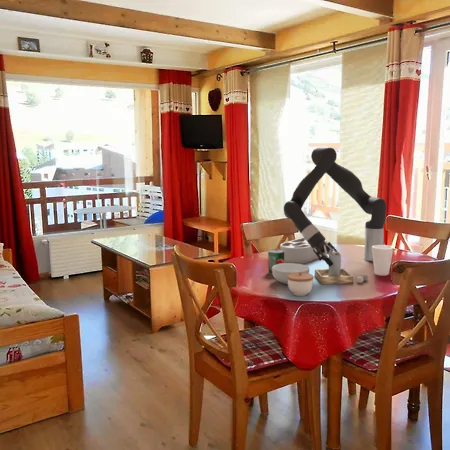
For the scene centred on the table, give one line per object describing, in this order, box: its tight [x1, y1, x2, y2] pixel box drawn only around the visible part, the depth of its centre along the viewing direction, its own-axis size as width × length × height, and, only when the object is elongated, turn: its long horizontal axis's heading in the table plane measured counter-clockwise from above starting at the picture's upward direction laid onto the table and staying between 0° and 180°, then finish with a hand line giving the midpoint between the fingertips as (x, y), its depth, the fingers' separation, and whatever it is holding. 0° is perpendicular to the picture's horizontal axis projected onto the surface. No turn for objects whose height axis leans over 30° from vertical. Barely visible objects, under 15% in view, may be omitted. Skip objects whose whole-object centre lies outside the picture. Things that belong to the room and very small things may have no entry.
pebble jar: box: [328, 251, 342, 277], centre depth 214 cm, size 5×5×13 cm
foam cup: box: [372, 244, 394, 276], centre depth 223 cm, size 10×9×13 cm
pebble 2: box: [360, 273, 369, 282], centre depth 212 cm, size 3×3×3 cm
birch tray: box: [314, 267, 354, 285], centre depth 216 cm, size 14×14×3 cm
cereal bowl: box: [271, 262, 310, 285], centre depth 213 cm, size 17×17×7 cm
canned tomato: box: [267, 248, 285, 276], centre depth 229 cm, size 8×8×11 cm
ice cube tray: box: [279, 237, 328, 264], centre depth 258 cm, size 17×28×9 cm, turn 139°
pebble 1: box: [355, 275, 364, 284], centre depth 209 cm, size 3×3×3 cm
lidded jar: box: [287, 272, 314, 297], centre depth 196 cm, size 11×11×9 cm
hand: (335, 263), depth 214 cm, fingers open, 8 cm apart
